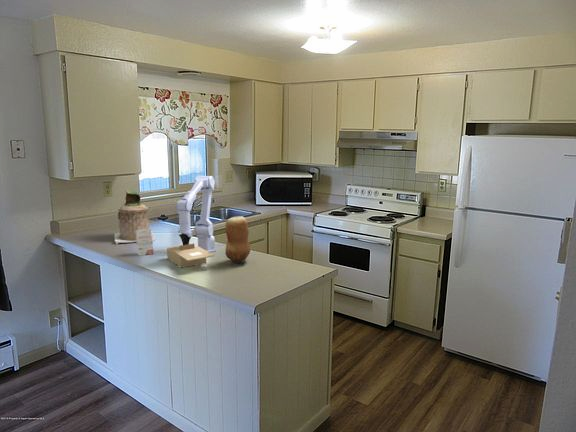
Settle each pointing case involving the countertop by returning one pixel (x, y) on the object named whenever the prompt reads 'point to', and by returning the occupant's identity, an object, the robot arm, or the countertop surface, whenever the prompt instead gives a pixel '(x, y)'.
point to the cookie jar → (132, 219)
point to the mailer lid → (192, 252)
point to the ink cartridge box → (144, 242)
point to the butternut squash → (237, 239)
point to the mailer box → (180, 260)
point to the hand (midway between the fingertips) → (185, 247)
